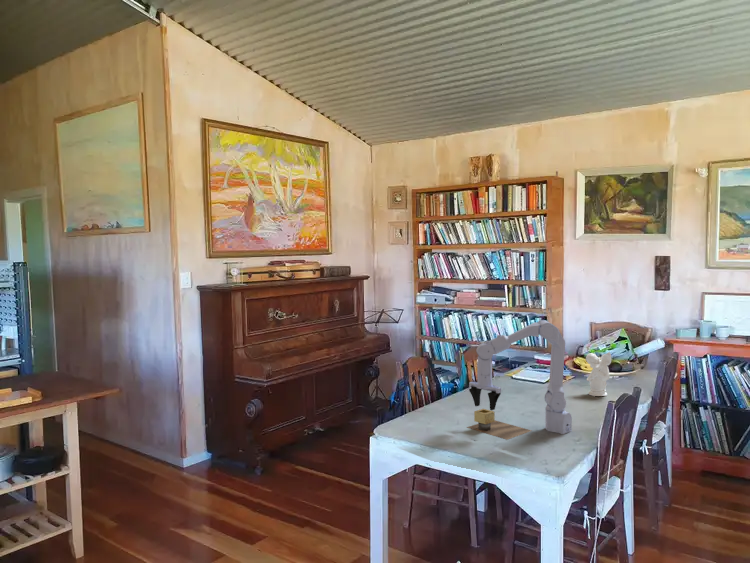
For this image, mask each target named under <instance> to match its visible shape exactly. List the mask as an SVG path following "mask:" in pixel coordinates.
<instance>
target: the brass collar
mask: <svg viewBox="0 0 750 563" xmlns="http://www.w3.org/2000/svg"><path fill="white" fill-rule="evenodd" d="M495 413H496V412H495V411H494V410H490V409H485V408H482V409H479V410H475V411H474V415H473V416H474V417H473V418H474V420H473V421H474V422H475V423H478V422H479V423H482V424H488V423H491V422H495Z"/></svg>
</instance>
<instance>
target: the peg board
mask: <svg viewBox="0 0 750 563" xmlns="http://www.w3.org/2000/svg"><path fill="white" fill-rule="evenodd" d="M466 428H467V429H470V430H473V431H476V432H480V433H483V434H487V435H489V436H493V437H497V438H500V439H503V440H505V441H508V440H510V439H513V438H515V437H518V436H522V435H525V434H527V433H530V432H532V431H533V430H532V429H528V428H525V427H524V428H523V427H521V426H517V425H514V424H510V423H508V422H507V423H506V422H503V421H499V420H495V422H491V423H488V424H482V423H479V422H477V423H476V424H472V425H469V426H466Z"/></svg>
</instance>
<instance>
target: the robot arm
mask: <svg viewBox="0 0 750 563" xmlns="http://www.w3.org/2000/svg"><path fill="white" fill-rule="evenodd" d="M528 337H538V338H539V337H542V338H543V339H545V340H546V341H547V342H548V343H549V344H550V345H551V347H550V349H551V352H550V364H549V365H550V366H549V367H550V368H549V383H548V385H547V391H546V393H545V394H544V401H545V403H546V406H545V430H546V431H547V432H551V433H557V434H561V435H566V434H567V433H570V432H572V430H573V428H572V426H573V425H572V424H573V421H572V419H573V418H572V414H571V413H570V412H568V411H566V406H567V400H566V399H565V392H564V387H563V386H564V384H563V382H564V368H565V366H564V365H565V354H566V353H565V352H566V340H565V339H564V337H563V335H562V333H561V332H560V330H559V328H558V327H557V326H556V325H554V324H553V323H551V322H549V321H548V320H545V319H541V320H538V321H536V322H533V323H531V324H528V325H527V326H525V327H523V328H521V329H519V330H516V331H515V332H513V333H511V334H509V335H505V334H502V335H500V334H498V335H497V336H496V337H495V338H492V339H491V340H485V342H482V343H480V344H478V346H476V349H475V350H476V355H477V364H476V365H477V366H476V368H477V369H476V370H477V373H476V374H477V375H476V376H477V378H476V379H477V381H470V382H468V387H469V388H468V391H469V393H470V396H472V399H473V400H472V401H473V404H474V406H475V407H479V406H481V405H480V404H481V393H482V390H484V391H489V392H487V395H488V399H489V400H488V402H489V410H490V411H494V410H496V405H497V402H498V399H499V398H500V395H501V393H502V387H499V386H496V385H494V384H493V362H492V357H493V356H494V355H497V354H499V353H502V352H504V351H506V350H508V349H510V347H511V345H512V344H514V343H515V342H518V341H521V340H524V339H526V338H528Z"/></svg>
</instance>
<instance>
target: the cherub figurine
mask: <svg viewBox="0 0 750 563" xmlns="http://www.w3.org/2000/svg"><path fill="white" fill-rule="evenodd" d="M585 361H586V362H587V364H588V365H589V366H590V368H592V369H591V372H590V373H589V375H588V376H587V378H586V381H587V382H589V387H590V389H589V391H588V392H587V394H588V395H589V396H592V397H595V396H605V397H607V396H608V393H607V390H606V388H607V381H608V380H610V369H609V366H610V365H611V364H612V354H611V352H610V351H609V352H606V353H604V354H602V355H601V356H600V357H598V356H597V354H595V353H594V352H590V353H589V352H588V353H587V354H586V356H585Z"/></svg>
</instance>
